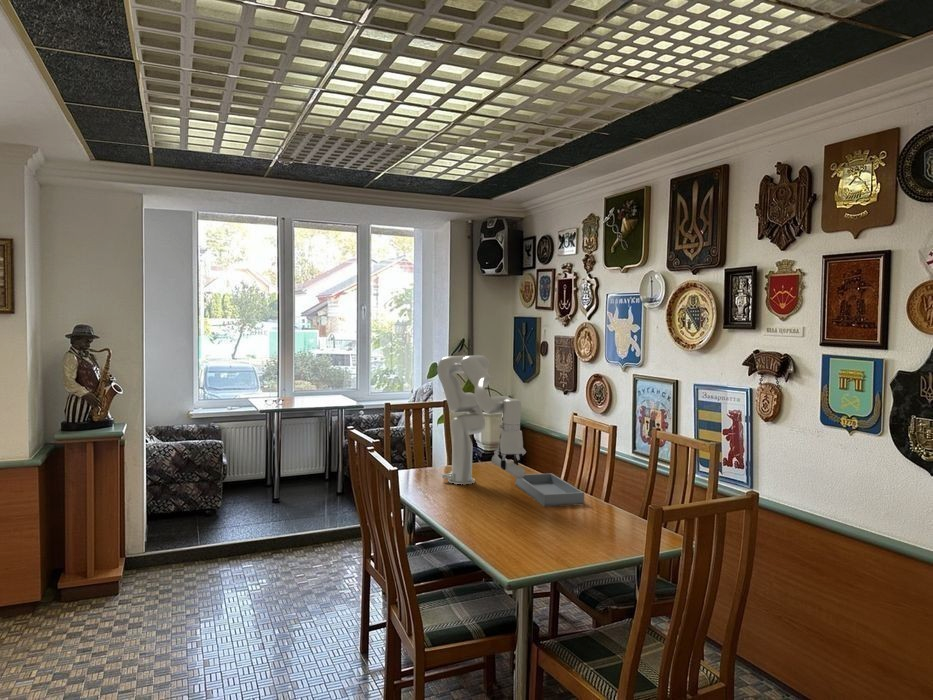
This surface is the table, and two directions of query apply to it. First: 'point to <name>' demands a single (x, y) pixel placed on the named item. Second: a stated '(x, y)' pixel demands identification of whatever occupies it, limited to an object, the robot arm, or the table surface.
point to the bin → (550, 490)
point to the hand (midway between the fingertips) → (509, 468)
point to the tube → (509, 467)
